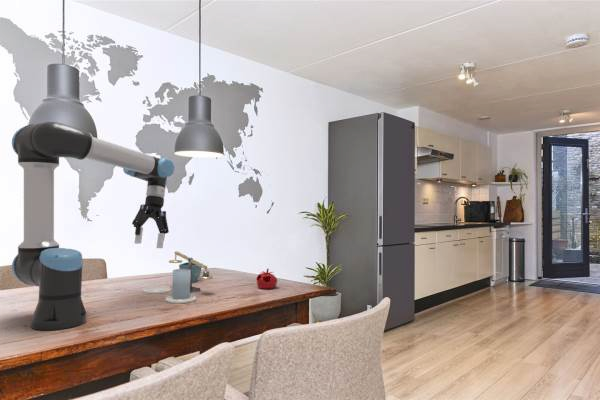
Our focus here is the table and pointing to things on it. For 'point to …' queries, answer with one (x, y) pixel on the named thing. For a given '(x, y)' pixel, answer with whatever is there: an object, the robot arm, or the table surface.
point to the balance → (190, 262)
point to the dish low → (180, 300)
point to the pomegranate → (266, 280)
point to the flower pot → (195, 270)
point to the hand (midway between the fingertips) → (149, 245)
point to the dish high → (157, 289)
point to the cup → (181, 284)
